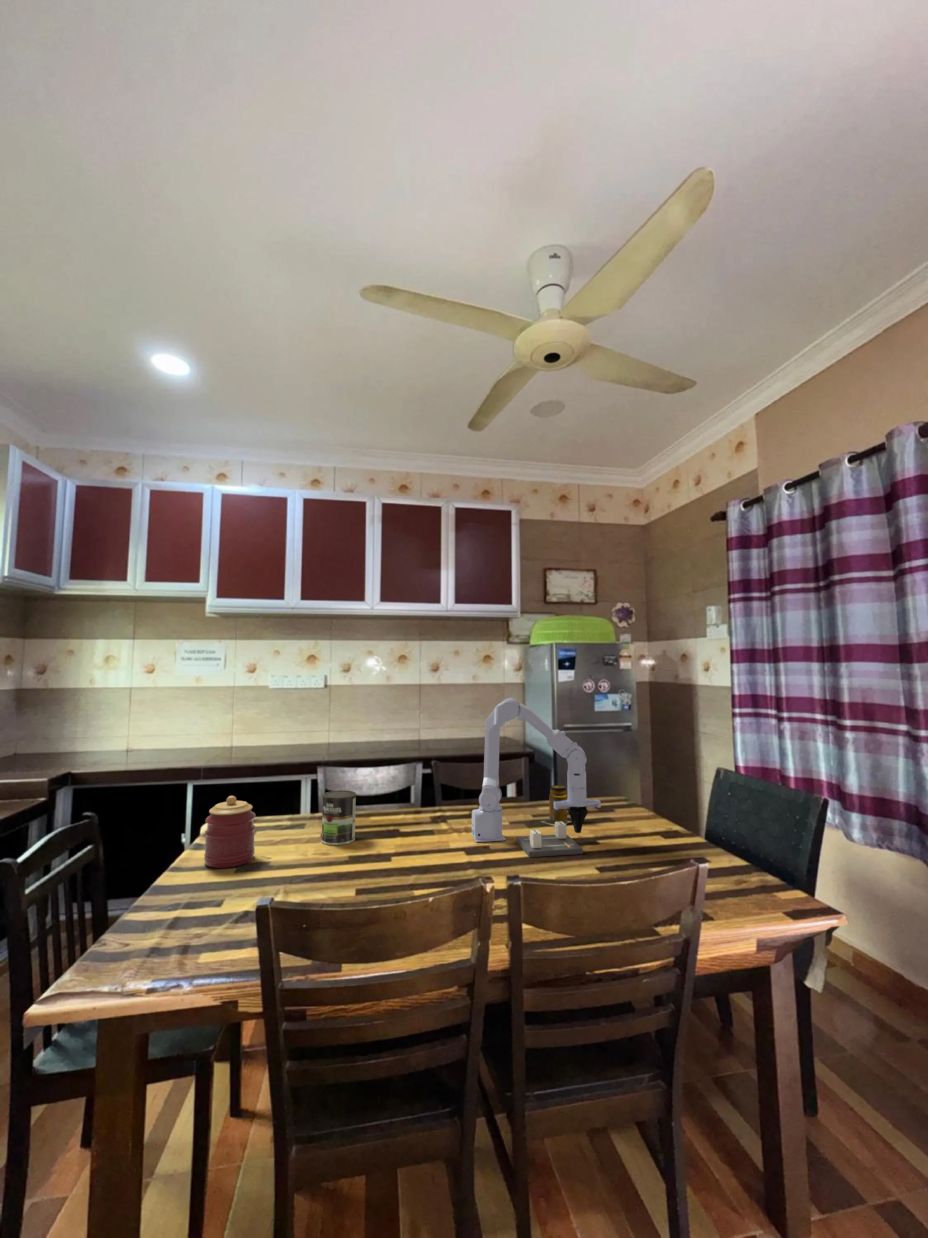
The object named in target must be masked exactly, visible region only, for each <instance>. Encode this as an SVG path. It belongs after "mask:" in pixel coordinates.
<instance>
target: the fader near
mask: <svg viewBox="0 0 928 1238" xmlns="http://www.w3.org/2000/svg"><path fill="white" fill-rule="evenodd" d="M541 835H542V832H541V831H540V830H539V829H530V830H529V836H530V845H531V846H532V847H533V848H542V846H541Z"/></svg>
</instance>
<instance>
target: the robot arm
mask: <svg viewBox="0 0 928 1238" xmlns="http://www.w3.org/2000/svg"><path fill="white" fill-rule="evenodd" d="M516 718H517V719H516ZM514 719H516V721H519V722H527V723H528V724H529V725H530V726H531V727H533V728H534V729H535V730H537V732H538V733H540V734H541V735H543V736H544V737H545V738H546V744H547V745H548V746H549V747H550V748H551V749H553V751H555V752H556V753H557V754H558V755H559V756H561V758H565V759H566V761H567V772H566V775H567V776H566V779H567V783H566V784H567V786H566V788H567V789H566V790H567V800H564V801H557V802H554V809H556V810H558V809H567V813H568V815H569V817H570V819H571V821H572V822H571V823H572V826H573V831H574V833H576V834H581V833H582V828H583V824H584V821H585V819H586V817H587V815H588V814H589V810H588V809H589V808H602V807H601V806H602V804H601V803H602V802H601V800H599V799H587V771H586V764H587V759H588V758H587V755H586V753H585V751H584V750H583V748H582V747H581V746H580V745H578V742H576V741H575V742H574V741H573V740H571V739H570V738H569V737H568V736H566V734H567V733H566V731H564V730H562V731H561V730H560V729H552V727H550V726H549V725H548V724H547V723H546V722H545V721H543V720H542V719H541V718H540V717H539V716H538V715H537V714H536V713H535V712H534V711H533V710H532V709H530V708H529V707H528V706H526V705H525V704H523V703H522V702H519V700H518V699H516V698H514V697H507V698H505V699H504V700H502V701H501V702H499V703H498V704H496V705H495V708H493V710H492V711H491V713H490V714H489V716H488V717H487V718H486V720H485V724H484V725H485V726H484V728H485V730H484V754H483V757H484V758H483V759H484V760H483V781H482V789H481V793H480V794H479V797H478V803H479V807H478V808H476V809H472V811H471V836H472V838H473V839H474V841H475V843H484V842H485V843H486V842H499V841H500V842H501V841H503V842H504V841H506V837H505V836H504V834H503V807H502V805H501V804H500V800H501V799H502V789H501V788H500V777H499V771H500V770H499V769H500V741H501V740H500V736H501V735H500V734H501V727H503V726H504V725H505V724H506V723H507V722H509V721H511V720H514ZM587 808H588V809H587Z"/></svg>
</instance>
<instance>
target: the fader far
mask: <svg viewBox="0 0 928 1238" xmlns="http://www.w3.org/2000/svg"><path fill="white" fill-rule="evenodd" d="M554 834H555V836H556V837H557V838H559V839H564V838H566V834H567V824H565V823H563V822H559V821H558V822H555V826H554Z"/></svg>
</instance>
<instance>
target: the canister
mask: <svg viewBox="0 0 928 1238" xmlns="http://www.w3.org/2000/svg"><path fill="white" fill-rule="evenodd" d="M225 800H226V801H223V802H219V803H217V804H215V805H214V806H213V807H212V808H210V809H209V811H208V812H209V814H210V815H208V816H207V817H206V818H205V823H206V824H207V827H206V830H205V832H204V834H205V842H204V843H205V848H204V849H205V850H204V854H203V855H204V857H203V859H204V864H205V866H207V867H210V868H213V869H214V868H215V869H226V868H232V867H237V866H238V867H239V866H242V865H244V864H247V863H250V862H251V861H252V860H253V859H254V857H255V829H256V825H255V823H254V819H255V818H256V813H255V812H254V811H252V809H253V808H254V807H253V805H252V804H251V803H248V802H247V801H245V800H244V801H243V800H237V797H236V796H234V795H229V796H228V797H227V798H226V799H225Z"/></svg>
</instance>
